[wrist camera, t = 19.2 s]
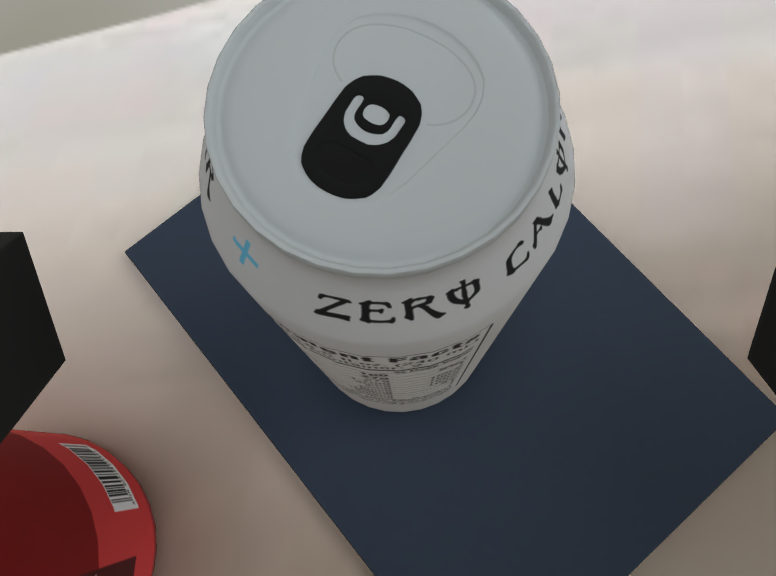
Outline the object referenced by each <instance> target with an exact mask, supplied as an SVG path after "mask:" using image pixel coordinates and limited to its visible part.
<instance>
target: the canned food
mask: <svg viewBox="0 0 776 576" xmlns="http://www.w3.org/2000/svg"><path fill="white" fill-rule="evenodd" d="M155 555H156V529H155V522H154V518H153V514H152V511H151V507H150V504H149V502H148V499H147V497H146V495H145V493H144V491H143V489H142V487H141V485H140V484H139V483H138V481H137V480H136V479H135V478H134V476H133V475H132V474H131V472H130V471H129V470H128V469H127V468H126V467H125V466H124V465H123V464H122V463H121V462H120V461H119V460H117V459H116V458H115V457H114V456H113V455H111V454H110V453H109V452H108V451H106V450H105V449H103V448H101V447H99V446H97V445H95V444H93V443H91V442H90V441H88V440H84V439H81V438H77V437H74V436H70V435H66V434H56V433H45V432H34V431H23V430H11V431H10V432H9V434H8V435H7V436H6V438H5V439H4V440H3V441H2V443H1V444H0V576H152V573H153V570H154V563H155Z"/></svg>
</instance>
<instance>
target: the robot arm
mask: <svg viewBox="0 0 776 576" xmlns="http://www.w3.org/2000/svg"><path fill="white" fill-rule="evenodd" d="M747 358H748V360H749V361H750V362H751V364H752V365H753V366H754V367H755V369H756V370H757V371H758V373H759V374H760V375H761V376H762V378H763V379H764V380H765V382H766V383H767V384H768V386H769V387H770V388H771V389H772V391H773V392H774V393H775V395H776V268H775V271H774V274H773V277H772V280H771V284H770V287H769V290H768V293H767V296H766V300H765V303H764V306H763V309H762V312H761V316H760V319H759V322H758V325H757V328H756V332H755V335H754V338H753V341H752V344H751V348H750V351H749V354H748V357H747ZM64 362H65V357H64V354H63V351H62V348H61V345H60V342H59V339H58V336H57V333H56V330H55V327H54V324H53V321H52V318H51V315H50V312H49V309H48V306H47V303H46V300H45V297H44V294H43V291H42V288H41V285H40V282H39V279H38V276H37V273H36V270H35V267H34V264H33V261H32V258H31V255H30V252H29V249H28V246H27V243H26V240H25V237H24V234H23V232H0V444H1V443H2V441H3V440H4V439H5V438H6V436H7V435H8V434H9V432H10V431H11V430H12V428H13V427H14V426H15V425H16V423H17V422H18V421H19V419H20V418H21V417H22V416H23V414H24V413H25V412H26V410H27V409H28V408H29V407H30V405H31V404H32V403H33V401H34V400H35V399H36V398H37V396H38V395H39V394H40V392H41V391H42V390H43V389H44V387H45V386H46V385H47V383H48V382H49V381H50V380H51V378H52V377H53V376H54V374H55V373H56V372H57V371H58V369H59V368H60V367H61V365H62V364H63V363H64Z"/></svg>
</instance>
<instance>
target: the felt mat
mask: <svg viewBox="0 0 776 576" xmlns="http://www.w3.org/2000/svg"><path fill="white" fill-rule="evenodd" d="M125 253H126V254H127V256H128V257H129V258H130V260H131V261H132V262H133V263H134V265H135V266H136V267H137V269H138V270H139V271H140V272H141V274H142V275H143V276H144V278H145V279H146V280H147V282H148V283H149V284H150V285H151V287H152V288H153V289H154V291H155V292H156V293H157V294H158V296H159V297H160V298H161V300H162V301H163V302H164V303H165V305H166V306H167V307H168V309H169V310H170V311H171V313H172V314H173V315H174V316H175V318H176V319H177V320H178V322H179V323H180V324H181V325H182V327H183V328H184V329H185V331H186V332H187V333H188V335H189V336H190V337H191V338H192V340H193V341H194V342H195V344H196V345H197V346H198V347H199V349H200V350H201V351H202V353H203V354H204V355H205V356H206V358H207V359H208V360H209V362H210V363H211V364H212V366H213V367H214V368H215V369H216V371H217V372H218V373H219V375H220V376H221V377H222V378H223V380H224V381H225V382H226V384H227V385H228V386H229V388H230V389H231V390H232V391H233V393H234V394H235V395H236V397H237V398H238V399H239V400H240V402H241V403H242V404H243V406H244V407H245V408H246V410H247V411H248V412H249V413H250V415H251V416H252V417H253V419H254V420H255V421H256V422H257V424H258V425H259V426H260V428H261V429H262V430H263V431H264V433H265V434H266V435H267V437H268V438H269V439H270V441H271V442H272V443H273V444H274V446H275V447H276V448H277V450H278V451H279V452H280V453H281V455H282V456H283V457H284V459H285V460H286V461H287V463H288V464H289V465H290V466H291V468H292V469H293V470H294V472H295V473H296V474H297V475H298V477H299V478H300V479H301V481H302V482H303V483H304V485H305V486H306V487H307V488H308V490H309V491H310V492H311V494H312V495H313V496H314V497H315V499H316V500H317V501H318V503H319V504H320V505H321V506H322V508H323V509H324V510H325V512H326V513H327V514H328V516H329V517H330V518H331V519H332V521H333V522H334V523H335V525H336V526H337V527H338V528H339V530H340V531H341V532H342V534H343V535H344V536H345V538H346V539H347V540H348V541H349V543H350V544H351V545H352V547H353V548H354V549H355V550H356V552H357V553H358V554H359V556H360V557H361V558H362V559H363V561H364V562H365V563H366V565H367V566H368V567H369V569H370V570H371V571H372V572H373V574H374V575H375V576H628V575H629V574H630V573H631V572H632V571H633V570H634V569H635V568H636V567H637V566H638V565H639V564H640V563H641V562H642V561H643V560H644V559H645V558H646V557H647V556H648V555H649V554H650V553H651V552H652V551H653V550H654V549H655V548H656V547H658V546H659V545H660V544H661V543H662V542H663V541H664V540H665V539H666V538H667V537H668V536H669V535H670V534H671V533H672V532H673V531H674V530H675V529H676V528H677V527H678V526H679V525H680V524H681V523H682V522H683V521H684V520H685V519H686V518H687V517H688V516H689V515H690V514H691V513H692V512H693V511H694V510H695V509H696V508H697V507H698V506H699V505H700V504H701V503H702V502H703V501H704V500H705V499H706V498H707V497H708V496H709V495H710V494H711V493H712V492H713V491H714V490H716V489H717V488H718V487H719V486H720V485H721V484H722V483H723V482H724V481H725V480H726V479H727V478H728V477H729V476H730V475H731V474H732V473H733V472H734V471H735V470H736V469H737V468H738V467H739V466H740V465H741V464H742V463H743V462H744V461H745V460H746V459H747V458H748V457H749V456H750V455H751V454H752V453H753V452H754V451H755V450H756V449H757V448H758V447H759V446H760V445H761V444H762V443H763V442H764V441H765V440H766V439H767V438H768V437H769V436H770V435H771V434H772V433H774V432H775V431H776V405H775V404H774V403H773V402H772V401H771V400H770V399H769V398H767V397H766V396H765V395H764V394H763V393H762V392H761V391H760V390H759V389H758V388H757V387H756V386H755V385H754V384H753V383H752V382H751V381H750V380H749V379H748V378H747V377H746V376H745V375H744V374H743V373H742V372H741V371H740V370H739V369H738V368H737V367H736V366H735V365H734V364H733V363H732V362H731V361H730V360H729V359H728V358H727V357H726V356H725V355H724V354H723V353H722V352H721V351H720V350H719V349H718V348H717V347H716V346H715V345H714V344H713V343H712V342H711V341H710V340H709V339H708V338H707V337H706V336H705V335H704V334H703V333H702V332H701V331H700V330H699V329H698V328H697V327H696V326H695V325H694V324H693V323H692V322H691V321H690V320H689V319H688V318H687V317H686V316H685V315H684V314H683V313H682V312H681V311H680V310H679V309H678V308H677V307H676V306H675V305H674V304H673V303H672V302H670V301H669V300H668V299H667V298H666V297H665V296H664V295H663V294H662V293H661V292H660V291H659V290H658V289H657V288H656V287H655V286H654V285H653V284H652V283H651V282H650V281H649V280H648V279H647V278H646V277H645V276H644V275H643V274H642V273H641V272H640V271H639V270H638V269H637V268H636V267H635V266H634V265H633V264H632V263H631V262H630V261H629V260H628V259H627V258H626V257H625V256H624V255H623V254H622V253H621V252H620V251H619V250H618V249H617V248H616V247H615V246H614V245H613V244H612V243H611V242H610V241H609V240H608V239H607V238H606V237H605V236H604V235H603V234H602V233H601V232H600V231H599V230H598V229H597V228H596V227H595V226H594V225H593V224H592V223H591V222H590V221H589V220H588V219H587V218H586V217H585V216H584V215H583V214H582V213H581V212H580V211H579V210H578V209H577V208H576V207H574V206H573V205H572V204H571V208H570V213H569V218H568V220H567V223H566V225H565V228H564V230H563V232H562V235H561V237H560V240H559V242H558V244H557V247H556V249H555V251H554V253H553V254H552V256H551V257H550V259H549V260H548V261H547V263H546V264H545V266H544V267H543V269H542V270H541V272H540V273H539V275H538V276H537V278H536V279H535V281H534V282H533V284H532V285H531V287H530V288H529V289H528V291H527V292H526V294H525V295H524V297H523V298H522V300H521V301H520V303H519V304H518V306H517V307H516V309H515V310H514V312H513V313H512V315H511V316H510V318H509V319H508V320H507V322H506V323H505V325H504V326H503V328H502V329H501V331H500V332H499V334H498V335H497V337H496V338H495V340H494V341H493V343H492V344H491V346H490V347H489V348H488V350H487V351H486V353H485V354H484V356H483V357H482V359H481V360H480V362H479V363H478V365H477V366H476V368H475V369H474V371H473V372H472V373H471V375H470V376H469V378H468V379H467V381H466V382H465V383H464V384H463V385H462V386H461V387H460V388H458V389H457V390H456V391H455V392H454V393H453V394H452V395H450V396H449V397H447V398H445V399H444V400H442V401H440V402H439V403H437V404H434V405H431V406H429V407H426V408H423V409H420V410H413V411H407V412H391V411H383V410H379V409H375V408H371V407H368V406H366V405H364V404H361V403H359V402H357V401H355V400H353V399H352V398H350V397H349V396H348V395H346V394H345V393H344V392H342V391H341V390H340V389H339V388H338V387H337V386H336V385H335V384H334V383H333V382H332V381H331V380H330V379H329V378H328V377H327V376H326V375H325V374H324V373H323V372H322V370H321V369H320V368H319V367H318V366H317V365H316V364H315V363H314V362H313V361H312V360H311V359H310V358H309V357H308V356H307V355H306V354H305V352H304V351H303V350H302V349H301V348H300V347H299V346H298V345H297V344H296V343H295V342H294V341H293V340H292V339H291V338H290V337H289V336H288V334H287V333H286V332H285V331H284V330H283V329H282V328H281V327H280V326H279V325H278V324H277V323H276V322H275V321H274V320H273V319H272V318H271V316H270V315H269V314H268V313H267V312H266V311H265V310H264V309H263V308H262V307H261V306H260V305H259V304H258V303H257V302H256V301H255V300H254V298H253V297H252V296H251V295H250V294H249V293H248V292H247V291H246V290H245V288H244V287H243V286H242V285H241V284H240V283H239V282H238V281H237V279H236V278H235V277H234V276H233V275H232V274H231V273H230V272H229V270H228V268H227V267H226V265H225V263H224V261H223V259H222V258H221V256H220V254H219V252H218V251H217V249H216V247H215V245H214V244H213V242H212V240H211V236H210V233H209V230H208V227H207V223H206V220H205V217H204V214H203V211H202V207H201V195H199V196H198V197H197V198H195V199H194V200H193V201H191V202H190V203H189V204H187V205H186V206H185V207H183V208H182V209H181V210H179V211H178V212H177V213H175V214H174V215H173V216H172V217H170V218H169V219H168V220H166V221H165V222H164V223H162V224H161V225H160V226H158V227H157V228H156V229H154V230H153V231H152V232H150V233H149V234H148V235H146V236H145V237H144V238H142V239H141V240H140V241H138V242H137V243H136V244H134V245H133V246H132V247H130V248H129V249H128V250H126V251H125Z"/></svg>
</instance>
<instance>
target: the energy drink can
mask: <svg viewBox="0 0 776 576" xmlns="http://www.w3.org/2000/svg"><path fill="white" fill-rule="evenodd" d="M204 128H205V136H204V139H203V145H202V153H201V161H200V168H199V182H200V195H201V207H202V211H203V214H204V217H205V220H206V223H207V227H208V230H209V233H210V236H211V240H212V242H213V244H214V245H215V247H216V249H217V251H218V252H219V254H220V256H221V258H222V259H223V261H224V263H225V265H226V267H227V268H228V270H229V272H230V273H231V274H232V275H233V276H234V277H235V278H236V279H237V281H238V282H239V283H240V284H241V285H242V286H243V287H244V288H245V290H246V291H247V292H248V293H249V294H250V295H251V296H252V297H253V298H254V300H255V301H256V302H257V303H258V304H259V305H260V306H261V307H262V308H263V309H264V310H265V311H266V312H267V313H268V314H269V315H270V316H271V318H272V319H273V320H274V321H275V322H276V323H277V324H278V325H279V326H280V327H281V328H282V329H283V330H284V331H285V332H286V333H287V334H288V336H289V337H290V338H291V339H292V340H293V341H294V342H295V343H296V344H297V345H298V346H299V347H300V348H301V349H302V350H303V351H304V352H305V354H306V355H307V356H308V357H309V358H310V359H311V360H312V361H313V362H314V363H315V364H316V365H317V366H318V367H319V368H320V369H321V370H322V372H323V373H324V374H325V375H326V376H327V377H328V378H329V379H330V380H331V381H332V382H333V383H334V384H335V385H336V386H337V387H338V388H339V389H340V390H341V391H342V392H344V393H345V394H346V395H348V396H349V397H350V398H352V399H353V400H355V401H357V402H359V403H361V404H364V405H366V406H368V407H371V408H375V409H379V410H383V411H391V412H407V411H413V410H420V409H423V408H426V407H429V406H431V405H434V404H437V403H439V402H440V401H442V400H444V399H445V398H447V397H449V396H450V395H452V394H453V393H454V392H455V391H456V390H457V389H458V388H460V387H461V386H462V385H463V384H464V383H465V382H466V381H467V379H468V378H469V376H470V375H471V373H472V372H473V371H474V369H475V368H476V366H477V365H478V363H479V362H480V360H481V359H482V357H483V356H484V354H485V353H486V351H487V350H488V348H489V347H490V346H491V344H492V343H493V341H494V340H495V338H496V337H497V335H498V334H499V332H500V331H501V329H502V328H503V326H504V325H505V323H506V322H507V320H508V319H509V318H510V316H511V315H512V313H513V312H514V310H515V309H516V307H517V306H518V304H519V303H520V301H521V300H522V298H523V297H524V295H525V294H526V292H527V291H528V289H529V288H530V287H531V285H532V284H533V282H534V281H535V279H536V278H537V276H538V275H539V273H540V272H541V270H542V269H543V267H544V266H545V264H546V263H547V261H548V260H549V259H550V257H551V256H552V254H553V253H554V251H555V249H556V247H557V244H558V242H559V240H560V237H561V235H562V232H563V230H564V228H565V225H566V223H567V220H568V218H569V213H570V208H571V203H572V197H573V192H574V186H575V169H574V148H573V144H572V140H571V136H570V132H569V129H568V125H567V121H566V117H565V114H564V112H563V110H562V108H561V106H560V93H559V89H558V85H557V81H556V77H555V73H554V69H553V65H552V62H551V60H550V58H549V56H548V54H547V52H546V50H545V48H544V46H543V44H542V42H541V40H540V38H539V36H538V34H537V33H536V32H535V30H534V29H533V28H532V27H531V25H530V24H529V23H528V22H527V20H526V19H525V18H524V17H523V15H522V14H521V13H520V12H519V10H518V9H517V8H515V7H514V6H513V5H512V4H511V3H510V2H508V1H507V0H263V1H261V2H260V3H259V4H257V5H256V6H255V7H254V8H253V9H252V10H251V12H250V13H249V14H248V15H247V16H246V17H245V18H244V19H243V20H242V22H241V23H240V24H239V25H238V26H237V27H236V28H235V29H234V31H233V33H232V34H231V36H230V37H229V39H228V41H227V42H226V44H225V46H224V47H223V49H222V51H221V52H220V54H219V56H218V58H217V61H216V64H215V67H214V69H213V72H212V75H211V78H210V81H209V83H208V87H207V94H206V102H205V110H204Z"/></svg>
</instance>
